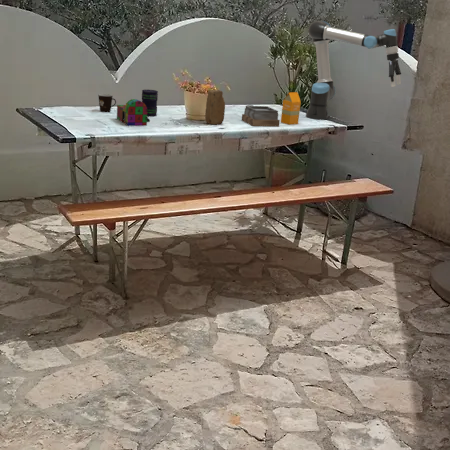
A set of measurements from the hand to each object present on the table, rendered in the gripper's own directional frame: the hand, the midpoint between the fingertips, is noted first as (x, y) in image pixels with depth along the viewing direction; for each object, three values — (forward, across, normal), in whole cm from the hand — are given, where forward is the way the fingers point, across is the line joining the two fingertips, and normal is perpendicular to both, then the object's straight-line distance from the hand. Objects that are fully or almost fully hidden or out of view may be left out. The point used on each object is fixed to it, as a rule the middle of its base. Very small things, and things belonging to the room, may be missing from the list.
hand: (396, 85), depth 402 cm
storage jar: (-12, -114, +123) cm, 168 cm away
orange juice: (+10, -55, +56) cm, 80 cm away
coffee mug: (-19, -128, +143) cm, 193 cm away
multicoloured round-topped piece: (-11, -136, +116) cm, 179 cm away
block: (0, -100, +85) cm, 131 cm away
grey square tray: (+6, -74, +68) cm, 100 cm away
